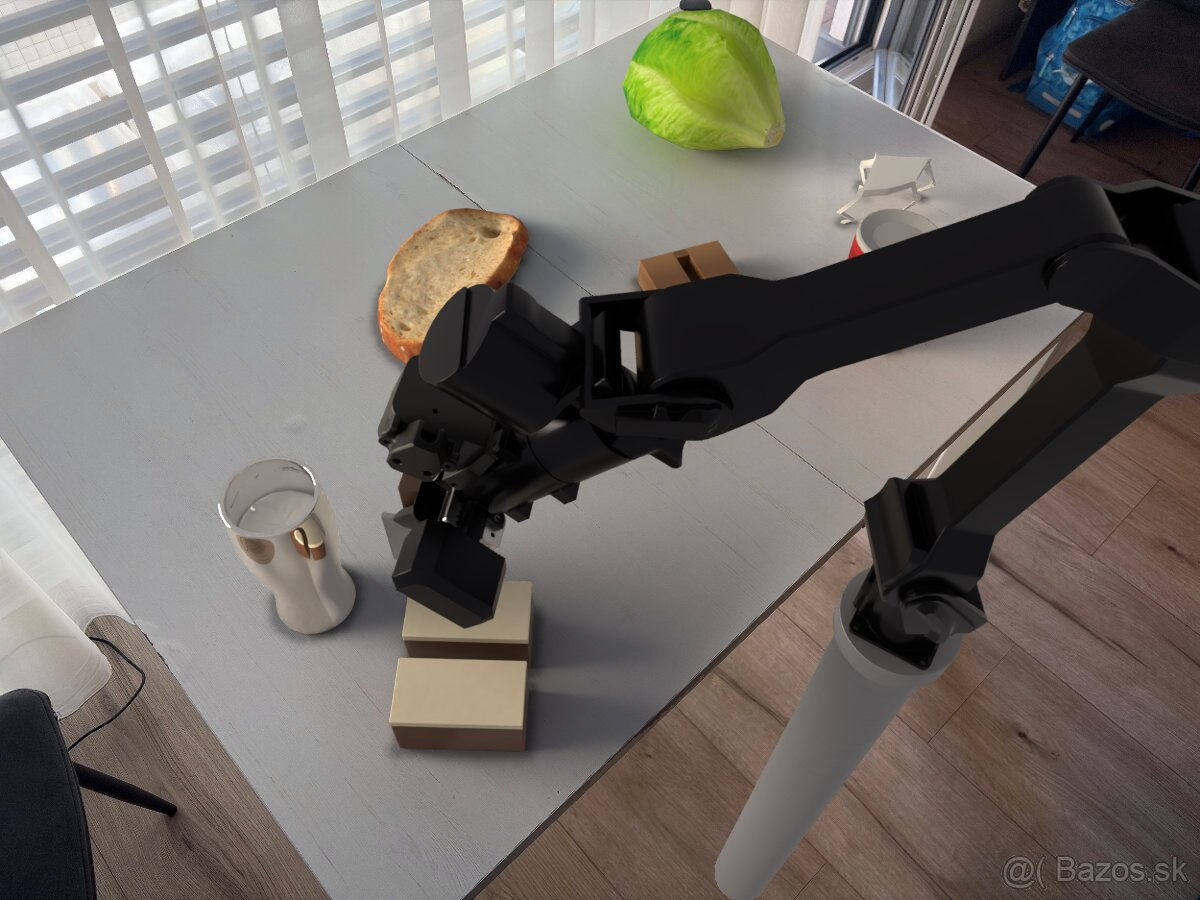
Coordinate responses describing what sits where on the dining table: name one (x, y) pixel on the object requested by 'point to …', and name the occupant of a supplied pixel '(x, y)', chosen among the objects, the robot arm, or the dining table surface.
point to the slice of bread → (445, 270)
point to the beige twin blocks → (465, 677)
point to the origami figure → (891, 178)
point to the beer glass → (289, 540)
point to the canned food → (887, 229)
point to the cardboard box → (684, 266)
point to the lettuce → (706, 83)
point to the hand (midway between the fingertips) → (403, 509)
